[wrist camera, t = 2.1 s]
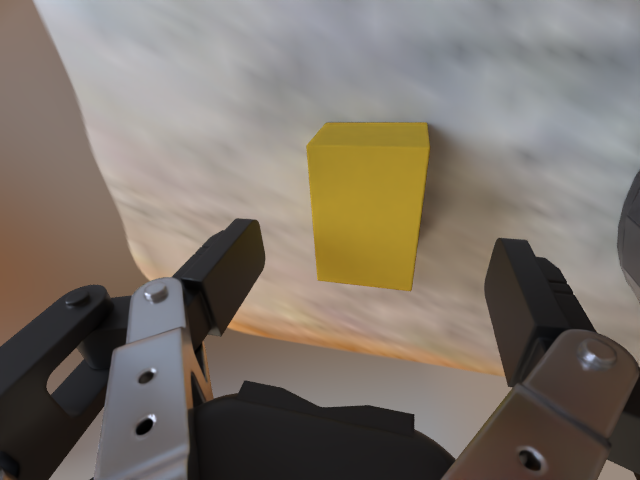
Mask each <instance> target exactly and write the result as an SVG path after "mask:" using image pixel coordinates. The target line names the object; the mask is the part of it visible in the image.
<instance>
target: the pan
mask: <svg viewBox="0 0 640 480" xmlns="http://www.w3.org/2000/svg"><path fill="white" fill-rule="evenodd" d="M617 248H618V255H619V261H620V266H621V269H622V271H623V274H624V276H625V279H626V281H627V283H628V284H629V286H630V287H631V289H632V290H633V292H634V293H635V295H636V297H637V299H638V301H639V303H640V171H639V172H638V174H637V176H636V177H635V179H634V181H633V184H632V186H631V188H630V191H629V193H628V195H627V198H626V200H625V202H624V206H623V210H622V214H621V218H620V222H619V226H618V243H617Z"/></svg>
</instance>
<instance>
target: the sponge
mask: <svg viewBox="0 0 640 480" xmlns="http://www.w3.org/2000/svg"><path fill="white" fill-rule="evenodd" d="M306 147H307V159H308V171H309V183H310V195H311V207H312V219H313V231H314V244H315V256H316V268H317V279H318V281H326V282H335V283H344V284H352V285H361V286H370V287H378V288H387V289H396V290H404V291H411V290H412V284H413V276H414V269H415V261H416V253H417V246H418V238H419V231H420V223H421V215H422V208H423V200H424V192H425V185H426V177H427V169H428V162H429V154H430V142H429V133H428V125H427V123H426V122H415V123H325V124H324V126H323V127H322V128H321V129H320V130H319V131H318V133H317V134H316V135H315V136H314V137H313V138H312V139H311V141H310V142H309V143H308V144H307V146H306Z"/></svg>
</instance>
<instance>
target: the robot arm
mask: <svg viewBox="0 0 640 480" xmlns="http://www.w3.org/2000/svg"><path fill="white" fill-rule="evenodd" d="M264 265H265V251H264V246H263V240H262V235H261V230H260V225H259V222H258V221H257V220H253V219H239V218H237V219H235V220H234V221H233V222H232V223H231V224H230V225H229V226H228V227H227V228H226V229H225V230H222V231H221V232H219V233H217V234H215V235H214V236H212V237H210V238H209V239H208V240H207V241H206V242H205V243H204V244H203V245H202V247H200V248H199V249H198V251H197V252H196V254H194V255H193V256H192V257H191V258H190V259H189V260H188V261H187V262H186V263H185V264H184V265H183V266H182V267H181V268H180V269H179V270H178V271H177V272H176V273H175V274H174V275H173V276H172V277H164V278H159V279H155V280H152V281H150V282H148V283H146V284H144V285H143V286H141V287H139V288H138V289H137V290H136V291H135V292H134V294H133V295H132V296H124V297H115V298H111V297H110V296H109V294H108V292H107V290H106V289H105V288H104V287H103V286H101V285H88V286H84V287H80V288H78V289H75V290H73V291H70V292H69V293H67V294H65V295H64V296H62V297H61V298H59V299H58V300H57V301H56V302H55V303H53V304H52V305H51V306H50V307H48V308H47V309H46V310H45V311H44V312H42V313H41V314H40V315H39V316H37V317H36V318H35V319H34V320H32V321H31V322H30V323H29V324H28V325H26V326H25V327H24V328H23V329H22V330H20V331H19V332H18V333H17V334H15V335H14V336H13V337H12V338H11V339H9V340H8V341H7V342H6V343H4V344H3V345H2V346H1V347H0V480H49V478H50V477H51V476H52V474H53V473H54V472H55V470H56V469H57V468H58V466H59V465H60V464H61V462H62V461H63V459H64V458H65V457H66V456H67V454H68V453H69V452H70V451H71V449H72V448H73V447H74V445H75V444H76V442H77V441H78V440H79V439H80V437H81V436H82V435H83V433H84V432H85V431H86V429H87V428H88V427H89V425H90V424H91V423H92V421H93V420H94V419H95V418H96V416H97V415H98V413H99V412H100V411H101V410H102V408H103V407H104V413H103V419H102V426H101V433H100V440H99V446H98V453H97V459H96V466H95V473H94V477H93V478H91V479H90V480H597V479H598V477H599V475H600V472H601V470H602V468H603V466H604V464H605V462H606V460H610V461H612V462H614V463H616V464H618V465H620V466H622V467H624V468H626V469H628V470H631V471H633V472H634V475H635V477H636V479H637V480H640V367H639V366H638V363H637V362H636V360H635V358H634V357H633V356H632V355H631V354H630V353H629V352H628V351H627V350H626V349H625V348H624V347H622V346H621V345H620V344H618V343H617V342H615V341H613V340H612V339H610V338H608V337H606V336H603V335H601V334H598V333H597V332H596V330H595V329H594V327H593V325H592V324H591V322H590V320H589V318H588V317H587V315H586V313H585V312H584V310H583V308H582V307H581V305H580V303H579V302H578V300H577V298H576V296H575V295H573V291H572V290H571V288H570V286H569V285H568V284H567V281H566V279H565V278H564V276H563V274H562V273H561V271H560V269H559V268H557V267H556V266H555V265H554V264H552V263H551V262H550V261H548V260H547V259H546V258H542V257H536V256H535V254H534V252H533V251H532V249H531V247H530V245H529V243H528V241H527V240H521V239H507V238H498V239H497V240H496V243H495V245H494V249H493V253H492V256H491V260H490V263H489V267H488V270H487V274H486V278H485V286H484V291H485V298H486V302H487V306H488V310H489V314H490V318H491V321H492V325H493V329H494V333H495V337H496V341H497V345H498V349H499V353H500V357H501V361H502V365H503V368H504V372H505V376H506V380H507V384H508V387H513V388H512V390H511V391H510V392H509V393H508V395H507V396H506V397H505V398H504V400H503V401H502V402H501V403H500V405H499V406H498V407H497V408H496V410H495V411H494V412H493V414H492V415H491V416H490V417H489V419H488V420H487V421H486V423H485V424H484V425H483V426H482V428H481V429H480V430H479V431H478V433H477V434H476V435H475V437H474V438H473V439H472V440H471V442H470V443H469V444H468V445H467V447H466V448H465V449H464V450H463V452H462V453H461V454H460V456H459V457H458V458H457V459H456V460H455V458H454V457H453V456H452V455H451V454H450V453H448V452H447V451H446V450H445V449H444V448H443V447H441V446H440V445H439V444H438V443H437V442H435V441H434V440H432V439H431V438H429V437H428V436H426V435H424V434H422V433H421V432H419V431H417V430H415V429H414V414H409V413H404V412H399V411H394V410H389V409H384V408H380V407H374V406H370V405H365V406H347V407H346V406H345V407H319V406H317V405H315V404H313V403H311V402H309V401H307V400H305V399H303V398H301V397H299V396H297V395H295V394H293V393H291V392H289V391H287V390H285V389H283V388H280V387H275V386H270V385H265V384H260V383H255V382H250V381H244V383H243V385H242V387H241V389H240V391H239V393H236V394H230V395H225V396H221V397H218V398H215V399H214V398H213V393H212V389H211V382H210V375H209V369H208V362H207V356H206V349H205V345H204V342H203V340H204V339H205V337H206V336H207V334H208V335H215V336H220V337H221V336H222V334H223V333H224V331H225V330H226V328H227V326H228V325H229V323H230V322H231V320H232V318H233V317H234V315H235V314H236V312H237V311H238V309H239V307H240V306H241V304H242V303H243V301H244V299H245V298H246V296H247V295H248V293H249V291H250V290H251V288H252V287H253V285H254V283H255V282H256V280H257V279H258V277H259V275H260V274H261V272H262V271H263V268H264ZM75 348H77V349H78V350H79V352H80V353H81V355H82V356H83V358H84V360H83V361H82V362H81V363H80V364H79V365H78V366H77V367H76V369H75V370H74V371H73V372H72V373H71V374H70V375H69V376H68V377H67V378H66V379H65V381H64V382H63V383H62V384H61V385H60V386H59V387H58V388H57V389H56V390H55V391H54V392H53V393H52V394H51V395H50V394H49V393H48V391H47V388H46V385H47V380H48V378H49V376H50V374H51V373H52V372H53V370H55V368H56V367H57V366H58V365H59V364H60V363H61V362H62V361H63V360H64V359H65V358H66V357H67V356H68V355H69V354H70V353H71V352H72V351H73V350H74V349H75Z"/></svg>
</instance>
